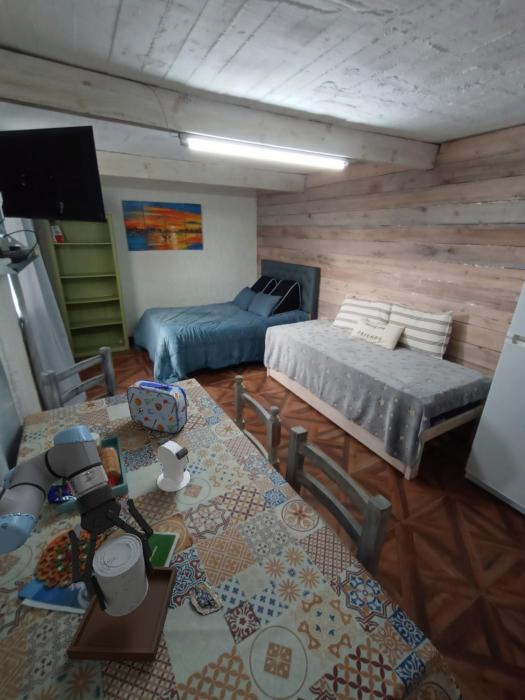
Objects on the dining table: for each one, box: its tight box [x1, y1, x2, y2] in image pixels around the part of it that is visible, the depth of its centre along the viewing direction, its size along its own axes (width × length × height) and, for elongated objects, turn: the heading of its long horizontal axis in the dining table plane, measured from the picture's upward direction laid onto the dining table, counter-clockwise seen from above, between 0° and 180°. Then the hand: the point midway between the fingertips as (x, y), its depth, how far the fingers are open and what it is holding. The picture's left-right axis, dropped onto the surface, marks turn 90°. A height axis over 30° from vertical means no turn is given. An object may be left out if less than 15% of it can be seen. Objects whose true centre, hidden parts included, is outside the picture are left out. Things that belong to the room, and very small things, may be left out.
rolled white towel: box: [92, 532, 148, 616], centre depth 69 cm, size 10×10×12 cm
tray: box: [66, 565, 178, 663], centre depth 73 cm, size 18×18×3 cm
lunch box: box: [126, 378, 190, 434], centre depth 139 cm, size 28×10×22 cm, turn 73°
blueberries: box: [189, 581, 223, 616], centre depth 76 cm, size 7×8×2 cm
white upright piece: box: [156, 436, 191, 493], centre depth 110 cm, size 12×11×15 cm
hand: (128, 590), depth 67 cm, fingers closed on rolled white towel, 9 cm apart
